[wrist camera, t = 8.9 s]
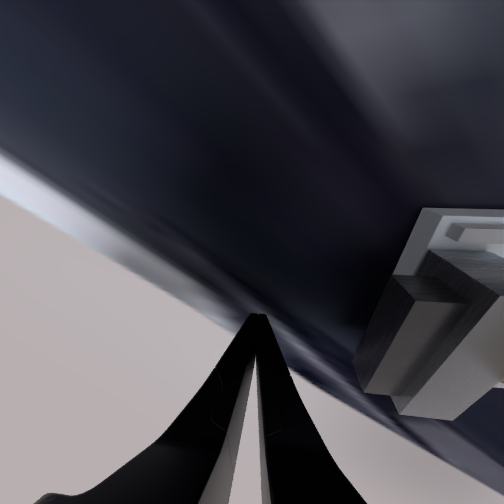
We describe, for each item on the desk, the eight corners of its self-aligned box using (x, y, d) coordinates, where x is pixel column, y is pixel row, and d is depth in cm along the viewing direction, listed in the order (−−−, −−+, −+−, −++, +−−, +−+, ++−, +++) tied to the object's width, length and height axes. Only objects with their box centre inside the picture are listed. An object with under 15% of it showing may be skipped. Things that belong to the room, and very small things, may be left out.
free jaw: (491, 252, 8) (595, 301, 5) (413, 361, 12) (452, 420, 9) (385, 247, 8) (436, 291, 6) (343, 354, 12) (362, 410, 10)
